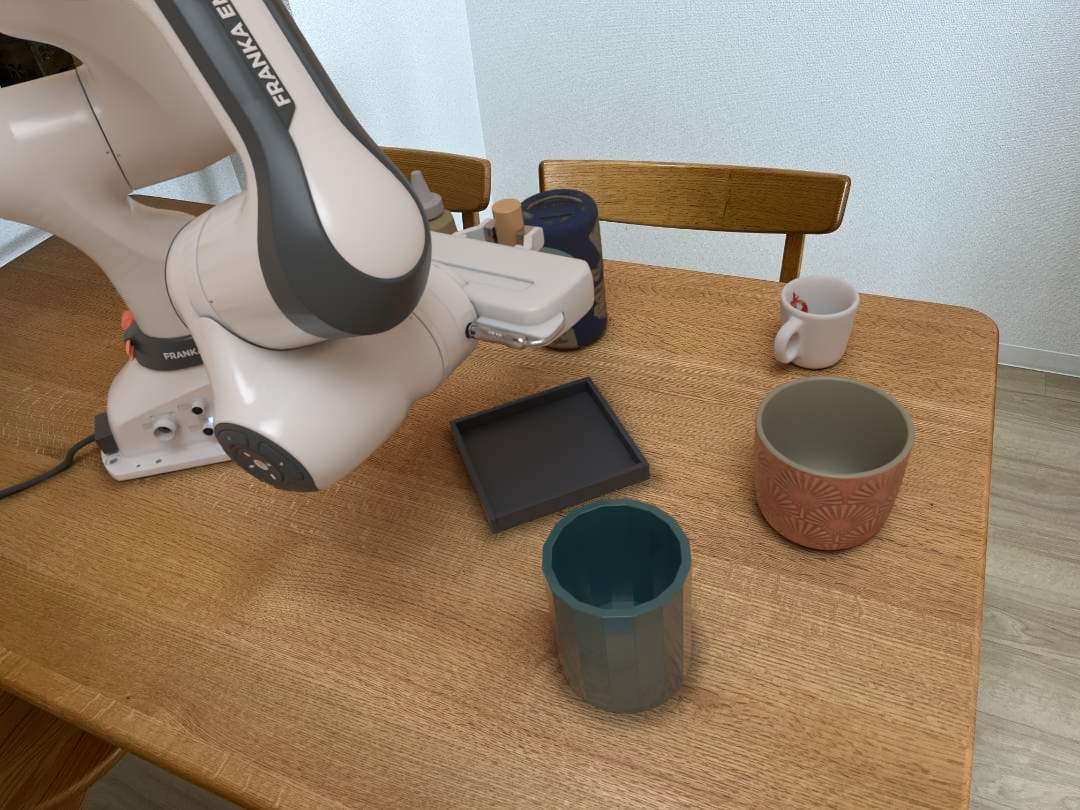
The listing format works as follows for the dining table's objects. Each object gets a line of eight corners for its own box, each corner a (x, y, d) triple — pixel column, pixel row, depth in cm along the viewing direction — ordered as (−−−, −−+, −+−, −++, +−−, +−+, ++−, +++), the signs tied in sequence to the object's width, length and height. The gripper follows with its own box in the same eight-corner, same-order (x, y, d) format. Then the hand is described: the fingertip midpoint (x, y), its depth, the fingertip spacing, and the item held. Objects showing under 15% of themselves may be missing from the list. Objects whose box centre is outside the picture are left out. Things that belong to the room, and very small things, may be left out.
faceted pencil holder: (589, 734, 60) (574, 639, 52) (542, 624, 68) (522, 526, 60) (714, 683, 62) (718, 583, 54) (655, 581, 70) (650, 481, 61)
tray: (493, 534, 76) (489, 520, 75) (452, 434, 87) (448, 421, 86) (650, 478, 79) (649, 464, 77) (590, 389, 90) (589, 375, 89)
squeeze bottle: (442, 277, 112) (413, 153, 100) (487, 291, 108) (463, 163, 96) (403, 307, 107) (368, 181, 96) (448, 322, 103) (417, 193, 92)
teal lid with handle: (476, 344, 65) (457, 255, 59) (442, 279, 73) (422, 195, 68) (605, 305, 67) (597, 215, 61) (557, 245, 75) (547, 162, 70)
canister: (602, 356, 94) (590, 217, 82) (523, 354, 96) (501, 218, 85) (613, 309, 101) (603, 175, 89) (539, 308, 103) (520, 177, 92)
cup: (806, 400, 84) (813, 339, 79) (744, 369, 89) (747, 310, 84) (864, 351, 89) (875, 291, 84) (803, 325, 94) (809, 266, 89)
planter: (904, 570, 67) (929, 480, 60) (751, 562, 70) (758, 474, 63) (881, 464, 77) (901, 375, 69) (746, 460, 79) (752, 374, 72)
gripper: (534, 313, 52) (628, 213, 60) (302, 260, 61) (412, 179, 69) (545, 389, 56) (632, 285, 64) (327, 328, 65) (428, 244, 73)
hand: (516, 230), depth 67 cm, fingers closed on teal lid with handle, 2 cm apart
